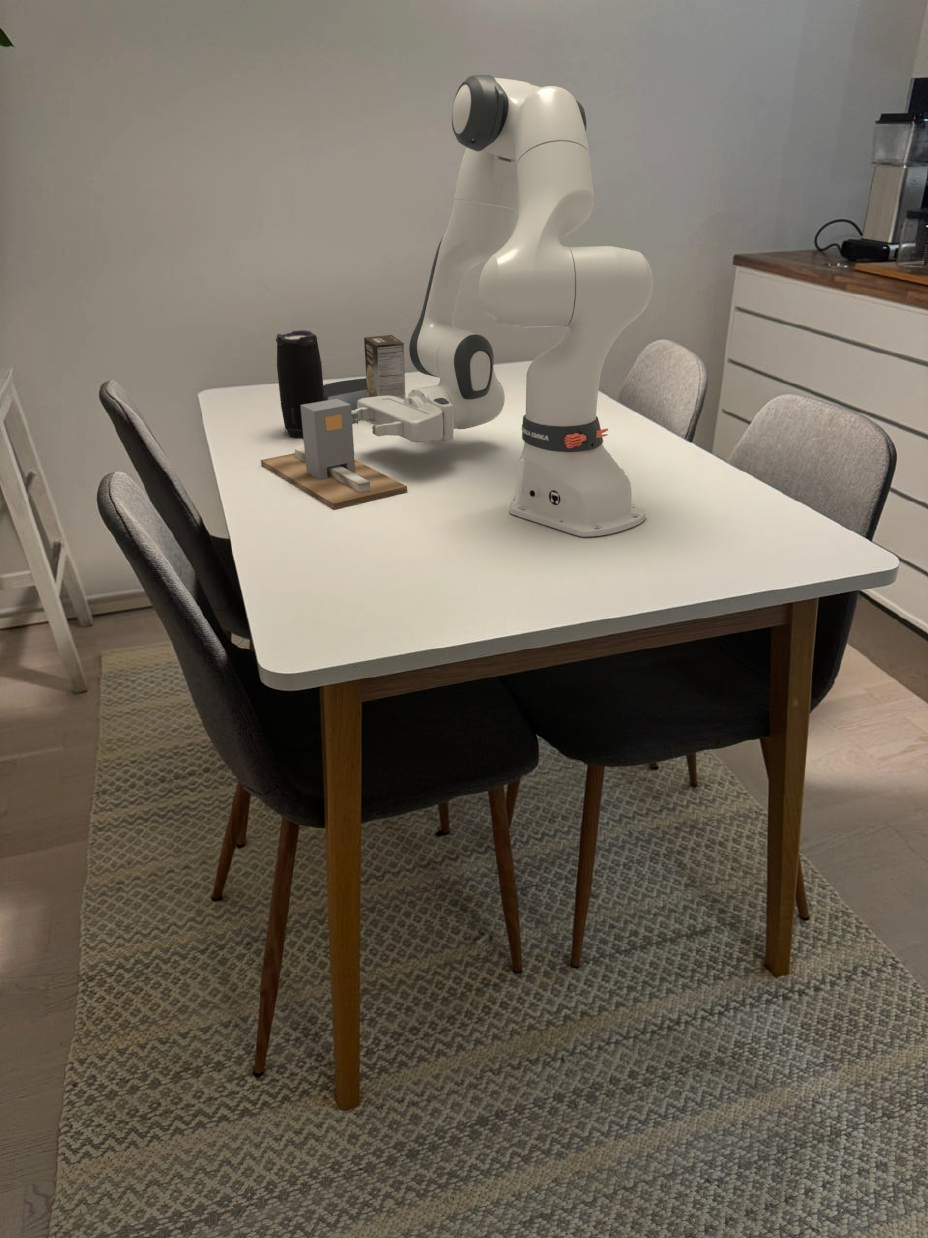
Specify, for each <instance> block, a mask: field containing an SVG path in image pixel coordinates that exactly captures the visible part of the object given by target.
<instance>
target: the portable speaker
mask: <svg viewBox="0 0 928 1238" xmlns="http://www.w3.org/2000/svg"><path fill="white" fill-rule="evenodd" d="M275 342H276V369H277V371H276V372H277V380H278V391H279V398H280V408H281V413H282V417H283V419H282V420H283V423H284V429H285V430H286V432H287V434H288V436H289V437H291V438H298V439H299V438H301V439H304V438H303V427H302V417H301V406H300V405H304V404H310V403H315V402H321V401H324V389H323V385H324V378H323V377H324V376H323V366H322V359H321V354H320V353H321V352H320V349H319V344H318V337H317V335H316V334H315V333H313V332H312V331H310V330H304V329H303V330H301V329H300V330H293V331H291V332H288V333H283V334H281V333H277V334H276V338H275Z"/></svg>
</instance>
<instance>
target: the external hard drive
mask: <svg viewBox="0 0 928 1238" xmlns="http://www.w3.org/2000/svg"><path fill="white" fill-rule="evenodd" d="M323 389H324V401H327V400H333V399H339V400H341V401H343V402H346V403H348V404H350V405H351V411H355V410H356V409H357V401H358V400H360V399H362V398H367V382H366V377H365V378H364V377H363V378H354V379H347V380H340V381H336V382H331V383H325V384H323Z"/></svg>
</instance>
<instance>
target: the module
mask: <svg viewBox="0 0 928 1238" xmlns="http://www.w3.org/2000/svg"><path fill="white" fill-rule="evenodd" d="M300 406H301V417H302V427H303V438H302V439H303V447H304V449H305V460H306V471H307V473H308V474H310V475H311V476H313V477H315V478H317V479H318V480H324V479H328V477H327V467H331V466H336V465H340V466H341V467H343V468H345V469H347V470H349V471H351V472H353V473H355V460H356V459H355V445H354V443H355V442H354V432H353V429H354V428H353V424H352V412H353V411H352V410H351V405H350V404H348V403H346V402H343V401H341V400H339V399H333V400H327V401H321V402H315V403H310V404H304V405H300Z"/></svg>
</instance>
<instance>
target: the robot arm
mask: <svg viewBox="0 0 928 1238" xmlns="http://www.w3.org/2000/svg"><path fill="white" fill-rule="evenodd" d="M451 126H452V127H451V128H452V131H453V132H452V133H453V134H454V136H455V138H456V140H457V141H458V143H459V144H460V145H462V146H463V147H465V151H464V154H463V157H462V159H461V160H462V161H461V164H460V168H459V172H458V176H457V180H456V185H455V190H454V191H455V192H454V197H453V198H454V199H453V206H452V210H451V215H450V218H449V222H448V224H447V225H448V226H447V228H446V231H445V233H444V235H443V236H442V237H441V240H440V241H439V243H438V246H437V248H436V251H435V255H434V259H433V263H432V266H431V271H430V275H429V280H428V284H427V288H426V293H425V296H424V301H423V304H422V305H423V306H422V310H421V313H420V316H419V319H418V321H417V323H416V325H415V328H414V330H413V332H412V334H411V337H410V341H409V348H408V351H409V357H410V360H411V363H412V365H413V366H414V368H415V369H416V370H417V371H419V373H421V374H423V375H425V376H429V377H434V378H439V383H437V384H436V385H431V386H424V387H419V388H414V389H411V390H410V392H409V393H408V395H407V397H405V400H403V399H401V398H398V397H395V396H376V397H368V398H362V399H360V400H358V401H357V410H353V411H351V412H352V425H354V424H359V422H361V421H363V422H367V423H368V424H371V425H372V427H371V429H372V430H371V431H372V435H374V436H376V437H383V436H394V437H395V436H398V437H401V438H403V439H406V440H408V441H410V442H413V443H426V442H432V441H439V440H441V441H450V440H451V441H452V440H453V439H454V430H456V429H457V430H466V429H471V428H474V427H478V426H481V425H485V424H487V423H489V422H492V421H493V420H495V419H496V418H497V417H498V416H500V414H501V413H502V411H503V410H504V406H505V398H506V397H505V396H506V395H505V390H504V387H503V385H502V383H501V382H500V380H498V378H497V375H496V372H495V369H494V368H495V367H494V365H495V364H494V362H495V361H494V359H495V356H494V349H493V347H492V344H491V343H490V341H489V340H488V339H487V338H486V337H485V336H483V335H480V334H477V333H475V332H472V331H469V330H467V329H462V328H458V327H456V326H455V315H456V311H457V308H458V303H459V298H460V295H461V289H462V287H463V282H464V280H465V278H466V277H467V274H468V273H469V272H470V271H471V270H472V269H473V268H474V267H476V266H477V265H479V264H481V263H484V262H486V263H485V264H484V266H483V268H482V270H481V273H480V277H479V280H478V298H479V302H480V304H481V307H482V309H483V311H484V312H485V314H486V315H487V317H488V318H489V319H490V320H491V321H492V322H493V323H496V324H501V325H506V326H511V327H518V328H525V329H526V328H546V327H547V328H550V327H551V328H552V327H565V331H564V333H563V335H562V337H561V338H560V340H559V341H558V343H556V344H555V345H554V346H553V347H550V348H549V349H547V350H544V351H543V352H542V353H540V354H538V355H537V356H536V357H535V358H534V359H533V360H532V361H531V363H530V364H529V366H528V368H527V371H526V375H525V376H526V384H525V389H526V390H525V391H526V392H525V413H524V415H523V416H522V424H521V439H522V440H523V443H524V444H523V447H522V448H523V449H522V451H521V456H520V458H519V461H518V468H517V476H516V482H515V483H516V484H515V492H514V495H513V496H514V497H513V500H512V501H513V502H512V503H511V505H510V507H509V508H510V509H509V513H510V514H511V515H513V516H516V517H519V518H522V519H525V520H529V521H532V522H535V523H538V524H541V525H544V526H547V527H549V528H553V529H556V530H559V531H562V532H565V533H568V534H572V535H574V536H578V537H582V538H584V537H585V538H586V537H598V536H599V537H600V536H606V535H612V534H615V533H618V532H622V531H625V530H629V529H630V528H634V527H636V526H638V525H640V524H641V523H643V522H644V521H645V520H646V518H647V514H646V513H647V512H646V511H645V510H643V508H640V507H639V506H637V505H635V504H634V503H632V499H633V498H632V487H631V481H630V478H629V477H628V475H626V473H625V471H624V469H623V468H621V467H620V466H619V465H618V463H617V462H616V460H615V459H614V458H613V457H612V455H611V454H610V453H609V451H608V450H607V449H606V447H605V446H604V444H603V443H604V439H603V438H605V437H607V436H609V435H608V434H607V433H606V432H608V431H609V428H603V429H601V425H600V419H599V417H598V416H597V410H598V409H597V408H598V398H599V397H598V396H599V388H600V380H601V374H602V369H603V366H604V363H605V360H606V357H607V355H608V354H609V351H610V349H611V348H612V346H613V344H614V343H615V341H616V340H617V338H618V337H619V336H620V335H621V333H622V332H623V331H624V330H625V329H626V328H627V327H628V326H629V325H630V324H631V323H632V322H634V321H636V320H637V319H638V318H640V316H641V315H642V314H643V312H645V310H646V309H647V307H648V305H649V303H650V301H651V299H652V296H653V295H652V294H653V291H654V277H653V272H652V271H653V270H652V268H651V266H650V263H649V261H648V260H647V258H646V257H645V256H644V254H642V252H640V251H638V250H633V249H628V248H624V247H619V246H618V247H617V246H612V245H602V246H600V245H598V246H591V245H590V246H565V245H564V246H563V245H562V244H561V241H560V240H562V239H564V238H566V237H567V236H569V235H571V234H573V233H574V232H576V231H578V230H579V229H580V228H581V227H583V226H584V224H585V223H586V222H587V221H588V219H589V218H590V217H591V215H592V212H593V211H594V206H595V191H594V183H593V175H592V164H591V155H590V148H589V142H588V137H587V117H586V112H585V108H584V107H583V105H582V103H580V102H579V101H578V100H577V99H576V98H575V97H574V95H573V94H572V93H571V92H569V91H568V90H567V89H565V88H563V87H560V86H555V85H547V86H538V85H535V84H531V83H529V82H527V81H522V80H518V79H511V78H510V79H509V78H501V77H500V78H499V77H494V76H493V75H492V74H491V75H490V74H476V75H475V74H474V75H470V76H468V77H466V78H465V80H463V82H462V83H461V84H460V85H459V87H458V89H457V91H456V94H455V96H454V100H453V104H452V111H451ZM517 209H518V210H517ZM603 433H604V434H603ZM605 433H606V434H605Z"/></svg>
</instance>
